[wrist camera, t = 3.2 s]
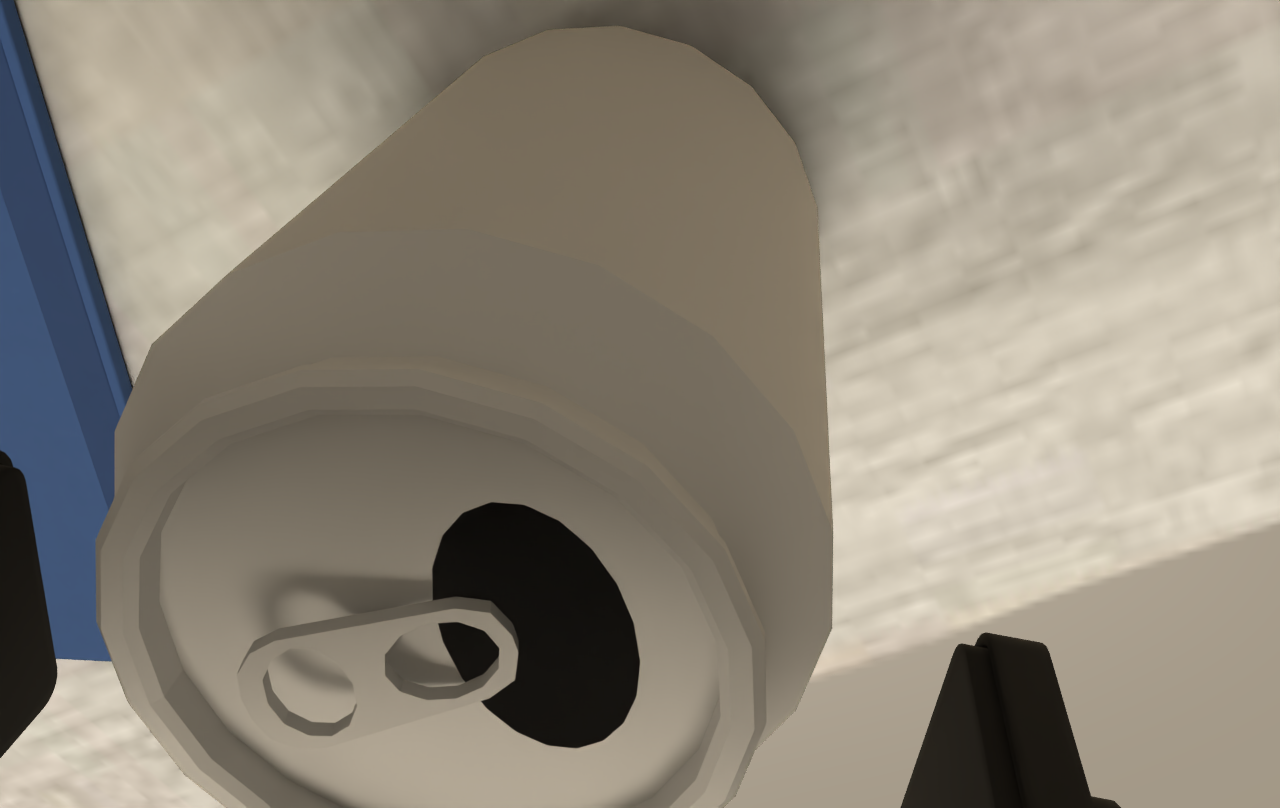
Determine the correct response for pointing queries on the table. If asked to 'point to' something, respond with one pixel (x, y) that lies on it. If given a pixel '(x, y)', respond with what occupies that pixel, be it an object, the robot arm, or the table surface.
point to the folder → (53, 354)
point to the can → (494, 458)
